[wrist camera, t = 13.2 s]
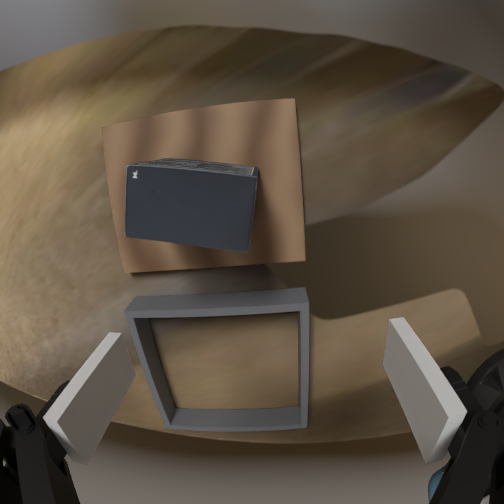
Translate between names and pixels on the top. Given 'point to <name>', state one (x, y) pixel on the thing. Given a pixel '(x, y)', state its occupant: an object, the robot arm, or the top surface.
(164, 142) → the walnut board
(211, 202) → the small box
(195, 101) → the top surface
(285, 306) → the bin
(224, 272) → the top surface
